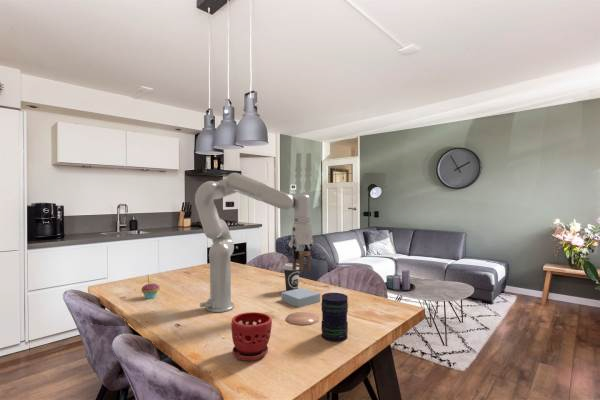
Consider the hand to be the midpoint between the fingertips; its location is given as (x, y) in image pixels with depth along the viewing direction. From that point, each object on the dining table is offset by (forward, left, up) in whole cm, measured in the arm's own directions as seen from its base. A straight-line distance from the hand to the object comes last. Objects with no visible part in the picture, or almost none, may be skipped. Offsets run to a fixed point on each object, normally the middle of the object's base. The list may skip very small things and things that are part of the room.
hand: (301, 258), depth 150 cm
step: (+6, +7, -23) cm, 25 cm away
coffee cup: (+13, +23, -24) cm, 36 cm away
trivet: (-9, -12, -23) cm, 28 cm away
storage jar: (-11, -33, -24) cm, 42 cm away
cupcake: (-51, +61, -24) cm, 83 cm away
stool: (0, 0, -6) cm, 6 cm away
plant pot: (-42, -25, -24) cm, 54 cm away
